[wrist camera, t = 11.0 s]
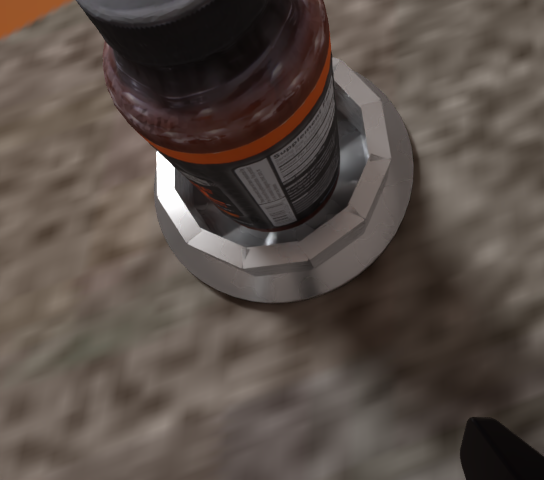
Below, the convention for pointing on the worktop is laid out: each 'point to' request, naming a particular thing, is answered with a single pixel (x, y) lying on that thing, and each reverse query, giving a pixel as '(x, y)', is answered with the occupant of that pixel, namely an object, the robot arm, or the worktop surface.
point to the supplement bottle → (230, 98)
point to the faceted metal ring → (315, 232)
